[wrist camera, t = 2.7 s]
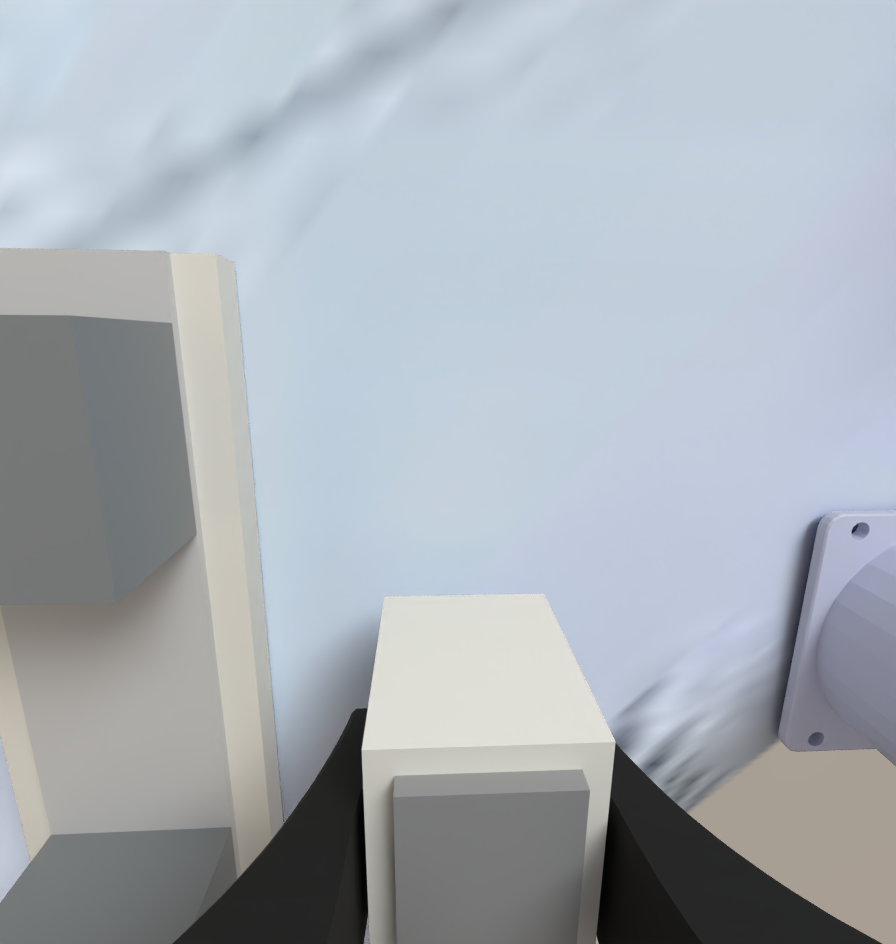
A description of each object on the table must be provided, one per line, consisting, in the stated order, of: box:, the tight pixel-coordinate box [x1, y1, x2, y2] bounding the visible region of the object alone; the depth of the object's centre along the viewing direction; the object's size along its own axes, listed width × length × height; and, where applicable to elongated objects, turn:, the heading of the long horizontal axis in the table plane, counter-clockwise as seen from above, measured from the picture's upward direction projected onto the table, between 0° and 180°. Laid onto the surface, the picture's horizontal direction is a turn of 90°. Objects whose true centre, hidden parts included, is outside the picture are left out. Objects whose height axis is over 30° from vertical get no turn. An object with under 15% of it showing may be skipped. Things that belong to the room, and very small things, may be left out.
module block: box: [362, 594, 616, 944], centre depth 11 cm, size 4×6×5 cm, turn 0°
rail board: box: [0, 248, 284, 944], centre depth 13 cm, size 7×22×5 cm, turn 0°
